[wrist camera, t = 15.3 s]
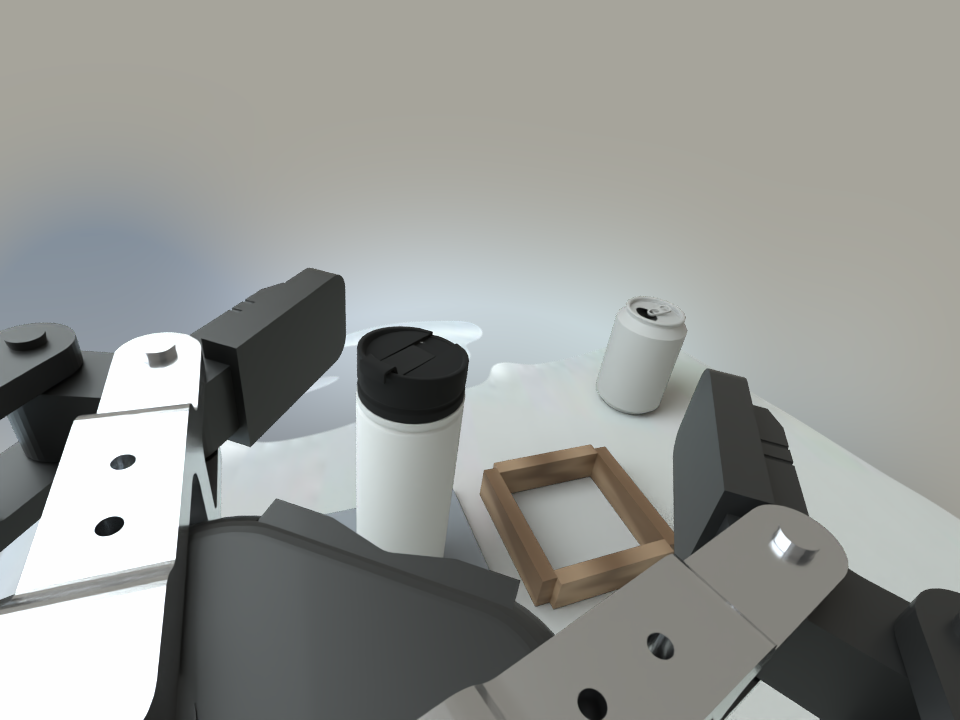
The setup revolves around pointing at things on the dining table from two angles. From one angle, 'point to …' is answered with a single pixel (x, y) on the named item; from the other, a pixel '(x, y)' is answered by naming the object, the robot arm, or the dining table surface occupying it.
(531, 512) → the dining table surface
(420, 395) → the travel mug
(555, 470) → the frame
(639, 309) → the can
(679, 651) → the robot arm
